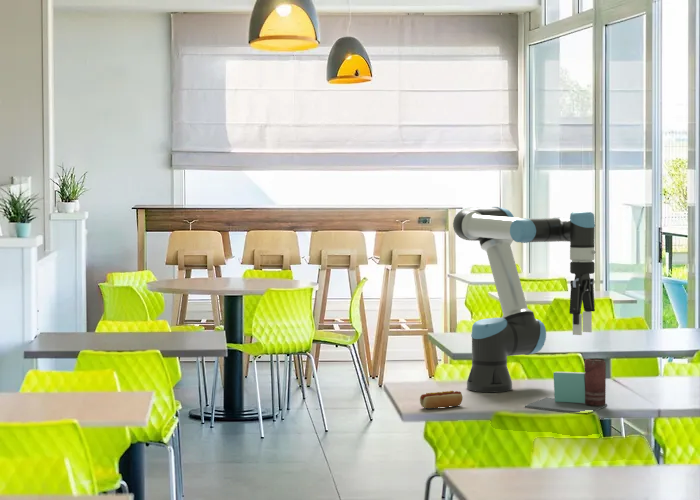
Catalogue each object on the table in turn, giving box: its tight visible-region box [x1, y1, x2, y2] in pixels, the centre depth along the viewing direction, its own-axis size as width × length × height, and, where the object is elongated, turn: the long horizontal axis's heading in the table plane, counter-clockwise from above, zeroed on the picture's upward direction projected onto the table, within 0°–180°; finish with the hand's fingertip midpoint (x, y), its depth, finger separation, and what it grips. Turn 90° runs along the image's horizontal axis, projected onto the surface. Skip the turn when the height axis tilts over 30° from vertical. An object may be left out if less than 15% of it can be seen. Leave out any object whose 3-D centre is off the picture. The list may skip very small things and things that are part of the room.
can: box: [583, 358, 607, 407], centre depth 325 cm, size 6×6×14 cm
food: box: [419, 390, 464, 409], centre depth 327 cm, size 14×6×5 cm, turn 114°
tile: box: [553, 371, 585, 403], centre depth 330 cm, size 10×2×9 cm, turn 56°
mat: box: [524, 397, 608, 413], centre depth 327 cm, size 20×16×1 cm
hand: (582, 333), depth 337 cm, fingers open, 8 cm apart
